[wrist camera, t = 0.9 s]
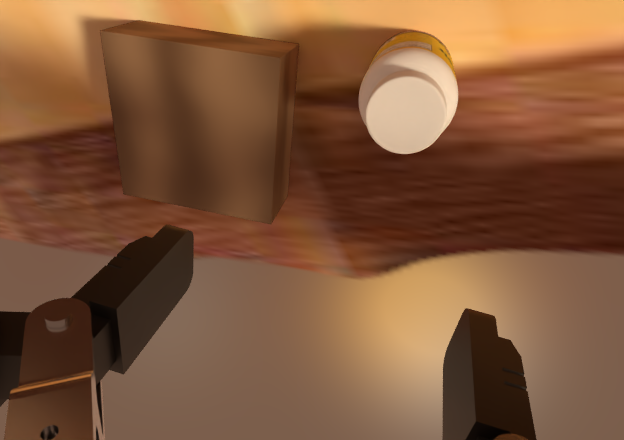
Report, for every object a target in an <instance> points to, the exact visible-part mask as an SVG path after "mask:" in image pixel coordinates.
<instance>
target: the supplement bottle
mask: <svg viewBox="0 0 624 440" xmlns="http://www.w3.org/2000/svg"><path fill="white" fill-rule="evenodd" d="M457 103H458V86H457V81H456V76H455V71H454V67H453V62H452V58H451V56H450V53H449V51H448V49H447V48H446V46H445V45H444V44H443V43H442V42H441V41H440V40H439V39H438V38H436V37H435V36H433V35H431V34H428V33H425V32H421V31H407V32H403V33H400V34H397V35H395V36H393V37H391V38H390V39H389V40H387V41H386V42H385V43H384V44H383V45H382V46H381V47H380V48H379V50H378V51H377V53H376V54H375V56H374V58H373V60H372V62H371V64H370V66H369V68H368V70H367V72H366V74H365V76H364V78H363V81H362V83H361V87H360V91H359V110H360V114H361V117H362V119H363V122H364V124H365V125H366V127H367V129H368V131H369V133H370V135H371V137H372V138H373V139H374V141H375V142H376V143H377V144H378V145H380V146H381V147H382V148H384V149H386V150H388V151H390V152H393V153H398V154H411V153H416V152H419V151H421V150H424V149H425V148H427V147H429V146H430V145H431V144H433V143H434V142H435V141H436V140H437V138H438V137H439V136H440V134H441V133H442V132H443V131H444V130H445V129H446V128H447V126H448V125H449V124H450V122H451V120H452V119H453V116H454V114H455V111H456V108H457Z"/></svg>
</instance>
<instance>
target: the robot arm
mask: <svg viewBox="0 0 624 440" xmlns="http://www.w3.org/2000/svg"><path fill="white" fill-rule="evenodd" d="M193 240H194V238H193V233H192V231H189V230H186V229H182V228H178V227H175V226H171V225H165V226H164V227H163V228H162V229H161V230H160V231H159V232H158V233H157V234H156V235H155V236H154V237H153V238H150V237H147V236H145V237H142V238H140V239H138V240H136V241H134V242H132V243H129V244H128V245H127V246H126V247H125V248H124V249H123V250H122V251H121V252H119V253H118V254H117V257H114V258H113V259H112V260H111V261H110V262H109V263H108V265H107V266H105V267H103V268H102V269H101V270H100V271H99V272H98V273H97V274H96V275H95V276H94V277H93V278H92V279H91V280H90V281H88V282H87V283H86V284H85V285H84V286H83V287H82V288H81V289H80V290H79V291H78V292H77V293H76V294H75V295H74V296H72V297H71V298H59V299H54V300H51V301H48V302H45V303H43V304H41V305H39V306H38V307H36V308H35V309H34V310H33V311H32V312H1V311H0V406H1V405H2V404H3V403H4V402H5V401H6V400H7V399H9V402H8V410H7V419H6V426H5V434H4V440H105V432H104V415H103V400H102V399H103V398H102V383H101V379H102V378H103V377H104V375H105V374H106V373H107V372H108V371H109V370H112V371H115V372H118V373H121V374H124V373H125V372H126V371H127V369H128V368H129V367H130V365H131V364H132V363H133V361H134V360H135V359H136V358H137V356H138V355H139V354H140V352H141V351H142V350H143V348H144V347H145V346H146V344H147V343H148V341H149V340H150V339H151V338H152V336H153V335H154V334H155V332H156V331H157V330H158V328H159V327H160V326H161V324H162V323H163V321H164V320H165V319H166V318H167V316H168V315H169V314H170V312H171V311H172V310H173V308H174V307H175V306H176V304H177V303H178V302H179V300H180V299H181V298H182V296H183V295H184V294H185V292H186V291H187V289H188V288H189V285H190V283H191V280H192V276H193ZM526 388H527V386H526V381H525V377H524V370H523V365H522V359H521V356H520V354H519V353H518V352H517V350H516V348H515V347H514V345H513V344H512V342H511V340H508V339H505V338H501V337H498V332H497V326H496V319H495V317H494V316H493V315H489V314H485V313H482V312H478V311H475V310H471V309H465V310H464V312H463V313H462V316H461V318H460V320H459V322H458V325H457V327H456V329H455V331H454V334H453V336H452V338H451V341H450V343H449V345H448V347H447V350H446V354H445V358H444V364H443V440H536V435H535V430H534V424H533V419H532V413H531V408H530V403H529V397H528V392H527V391H526Z"/></svg>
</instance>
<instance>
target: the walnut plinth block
mask: <svg viewBox="0 0 624 440" xmlns="http://www.w3.org/2000/svg"><path fill="white" fill-rule="evenodd" d="M100 34H101V41H102V48H103V55H104V62H105V69H106V76H107V83H108V90H109V97H110V104H111V111H112V118H113V125H114V132H115V139H116V146H117V153H118V160H119V167H120V174H121V181H122V188H123V194H125V195H130V196H135V197H140V198H145V199H150V200H155V201H159V202H164V203H169V204H174V205H179V206H184V207H189V208H194V209H199V210H203V211H208V212H213V213H218V214H223V215H228V216H233V217H238V218H243V219H248V220H252V221H257V222H262V223H267V224H272V222H273V220H274V219H275V217H276V215H277V213H278V212H279V210H280V208H281V206H282V205H283V203H284V201H285V199H286V198H287V196H288V185H289V172H290V159H291V145H292V132H293V118H294V105H295V92H296V78H297V65H298V51H299V44H296V43H289V42H282V41H276V40H269V39H262V38H255V37H248V36H242V35H235V34H228V33H221V32H214V31H208V30H201V29H194V28H187V27H181V26H174V25H167V24H160V23H153V22H147V21H140V20H139V21H135V22H131V23H127V24H123V25H120V26H116V27H112V28H108V29H104V30H101V31H100Z"/></svg>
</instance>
